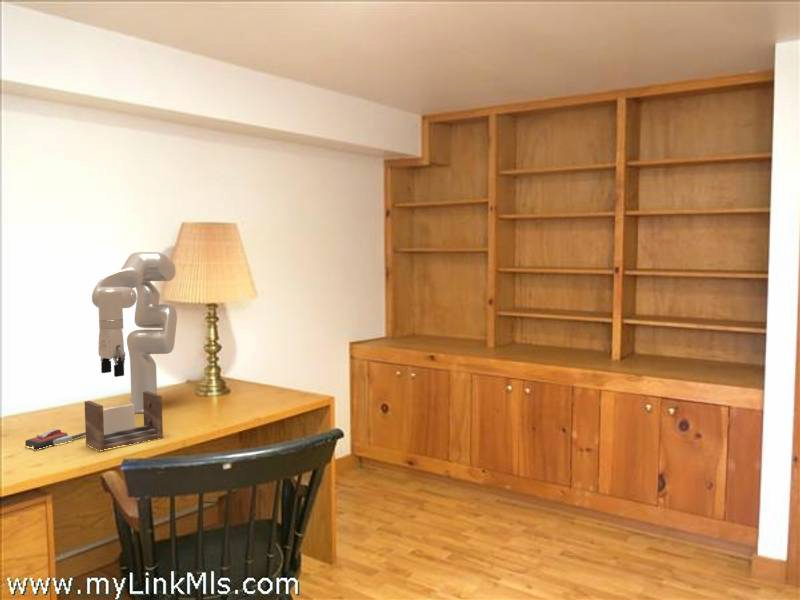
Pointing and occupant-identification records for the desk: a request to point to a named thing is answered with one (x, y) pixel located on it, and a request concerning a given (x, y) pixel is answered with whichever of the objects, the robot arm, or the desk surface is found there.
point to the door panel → (118, 418)
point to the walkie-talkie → (50, 438)
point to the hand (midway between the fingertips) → (112, 374)
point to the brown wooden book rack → (124, 437)
